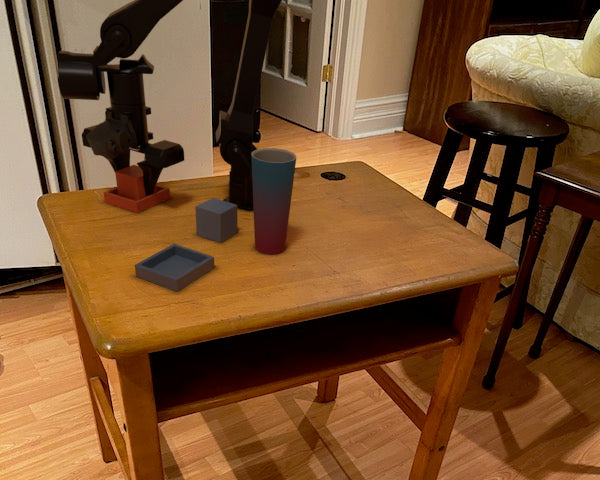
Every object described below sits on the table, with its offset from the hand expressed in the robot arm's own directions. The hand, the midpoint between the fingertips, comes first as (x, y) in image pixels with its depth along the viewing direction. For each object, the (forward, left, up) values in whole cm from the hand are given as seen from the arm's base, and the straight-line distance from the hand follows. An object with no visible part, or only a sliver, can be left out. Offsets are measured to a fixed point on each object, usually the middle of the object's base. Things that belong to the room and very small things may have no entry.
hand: (137, 193), depth 108 cm
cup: (+2, +30, -2) cm, 30 cm away
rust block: (0, 0, -1) cm, 1 cm away
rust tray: (0, 0, -1) cm, 1 cm away
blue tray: (+18, +23, -1) cm, 29 cm away
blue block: (+3, +20, -1) cm, 20 cm away
